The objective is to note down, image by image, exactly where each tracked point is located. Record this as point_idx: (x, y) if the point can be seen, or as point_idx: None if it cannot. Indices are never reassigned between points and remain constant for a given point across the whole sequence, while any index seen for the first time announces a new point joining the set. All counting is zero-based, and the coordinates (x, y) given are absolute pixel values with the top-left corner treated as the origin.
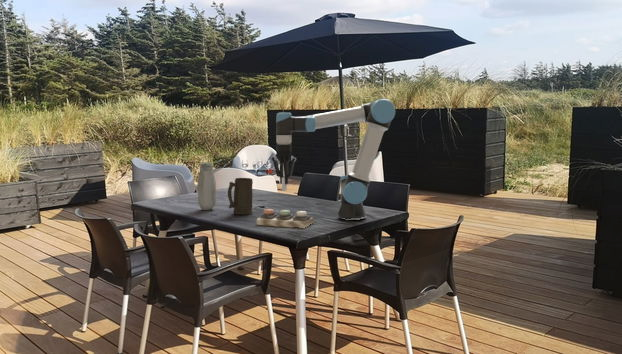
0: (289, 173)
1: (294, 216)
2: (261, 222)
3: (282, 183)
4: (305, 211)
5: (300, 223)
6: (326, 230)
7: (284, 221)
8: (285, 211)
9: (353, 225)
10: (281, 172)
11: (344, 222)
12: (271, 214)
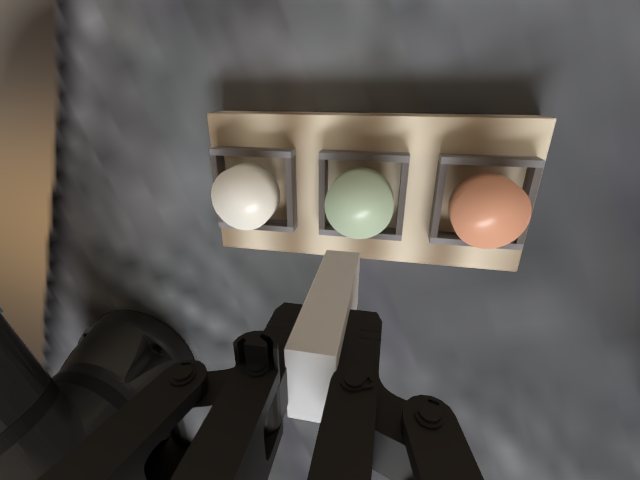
0: (145, 410)
1: (291, 181)
2: (508, 116)
3: (337, 299)
4: (226, 220)
5: (237, 113)
6: (109, 97)
7: (338, 115)
8: (347, 188)
9: (70, 235)
10: (323, 459)
11: (128, 281)
12: (456, 187)
